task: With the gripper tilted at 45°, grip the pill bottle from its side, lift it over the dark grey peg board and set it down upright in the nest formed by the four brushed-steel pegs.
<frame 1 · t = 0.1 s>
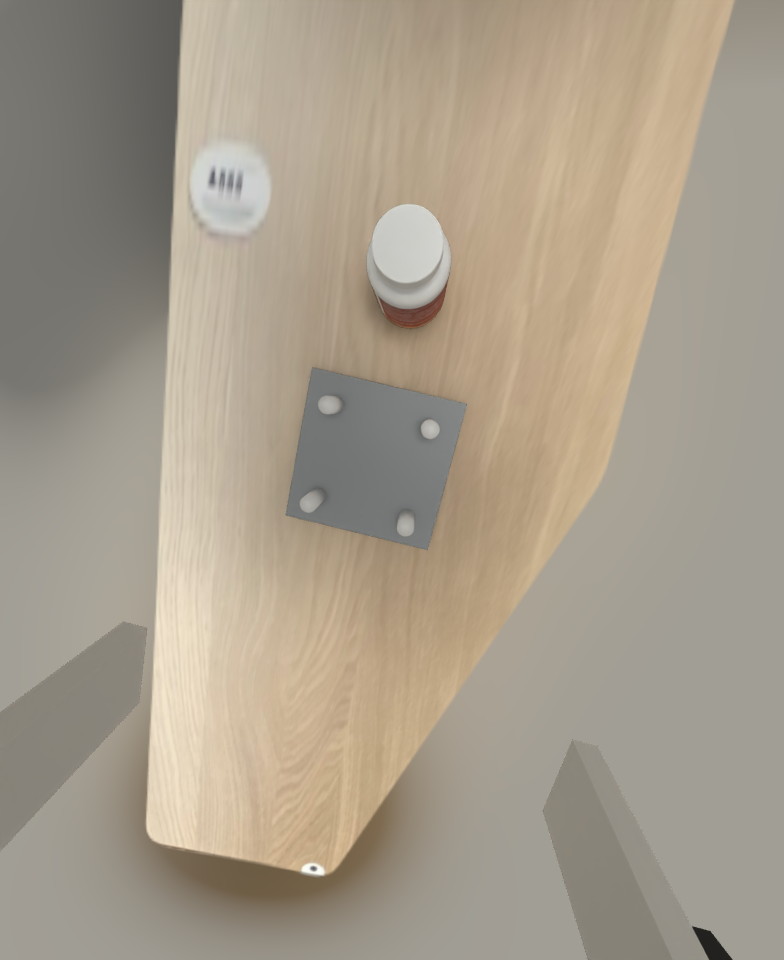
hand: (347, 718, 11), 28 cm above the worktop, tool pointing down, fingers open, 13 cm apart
pill bottle: (410, 294, 35), on the worktop
peg board: (373, 460, 38), on the worktop
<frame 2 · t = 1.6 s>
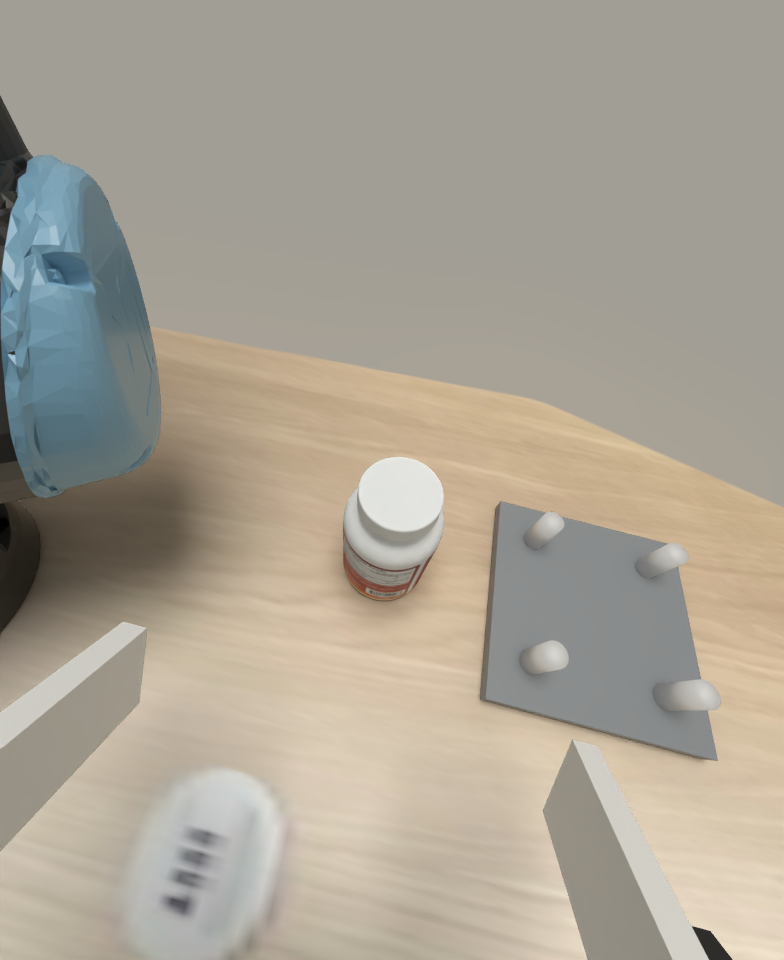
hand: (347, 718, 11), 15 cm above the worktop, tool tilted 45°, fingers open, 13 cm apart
pill bottle: (382, 563, 29), on the worktop
peg board: (583, 614, 29), on the worktop
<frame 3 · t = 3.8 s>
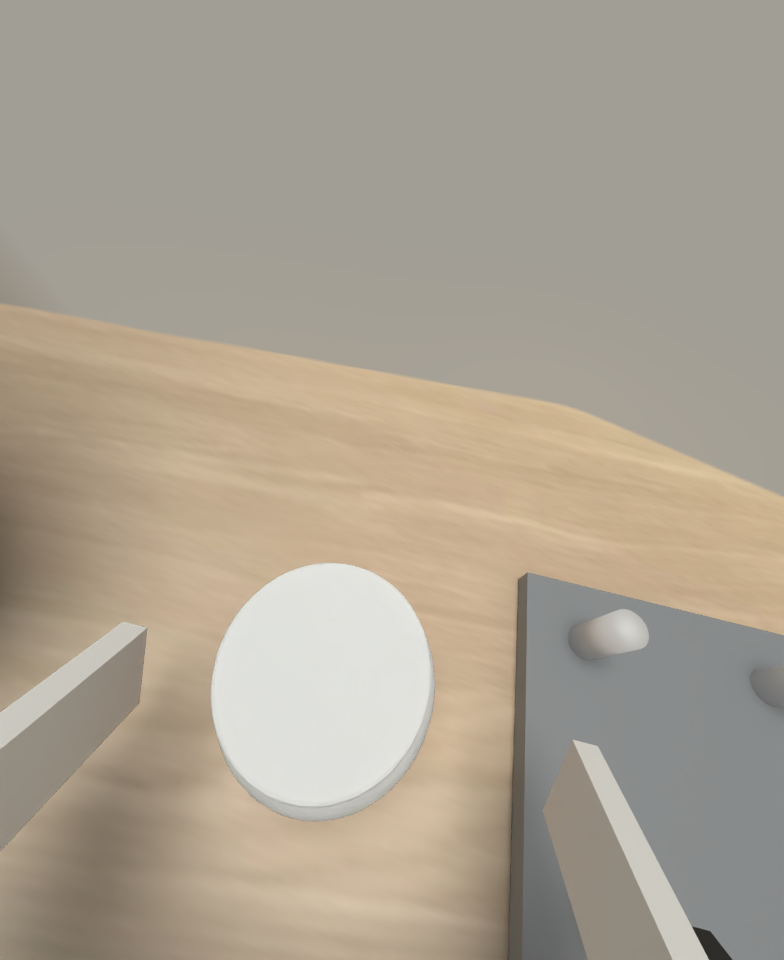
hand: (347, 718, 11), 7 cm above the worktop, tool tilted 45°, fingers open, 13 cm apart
pill bottle: (334, 691, 17), on the worktop
peg board: (675, 777, 17), on the worktop
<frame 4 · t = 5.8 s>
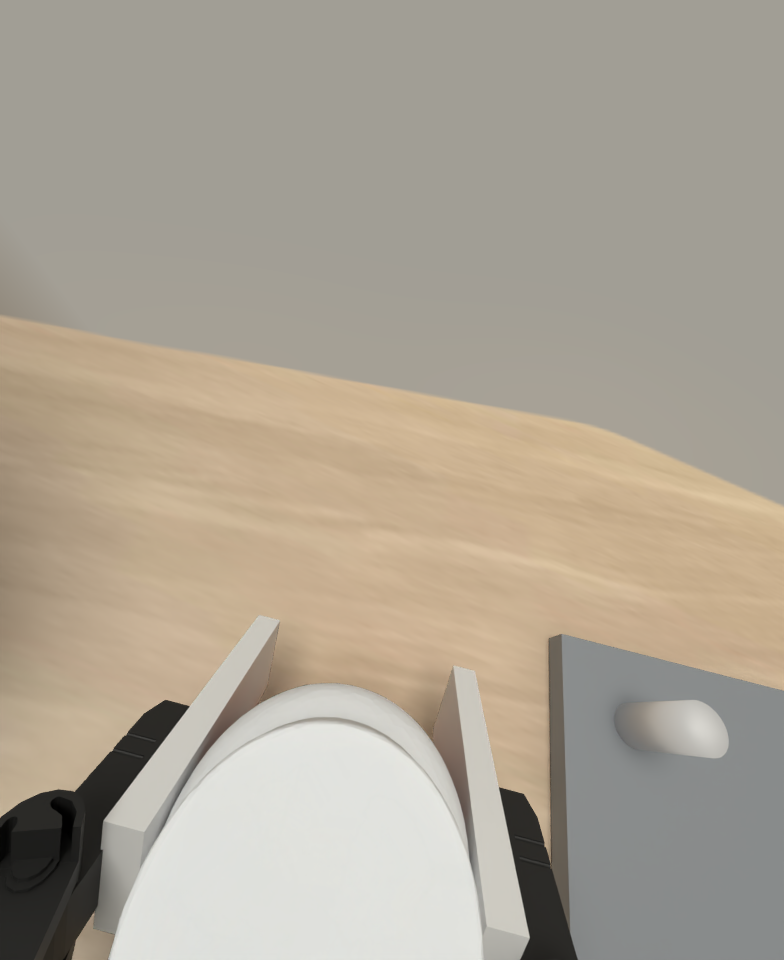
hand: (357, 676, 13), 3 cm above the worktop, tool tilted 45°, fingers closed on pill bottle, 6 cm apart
pill bottle: (328, 789, 14), on the worktop, touching gripper
peg board: (753, 905, 14), on the worktop
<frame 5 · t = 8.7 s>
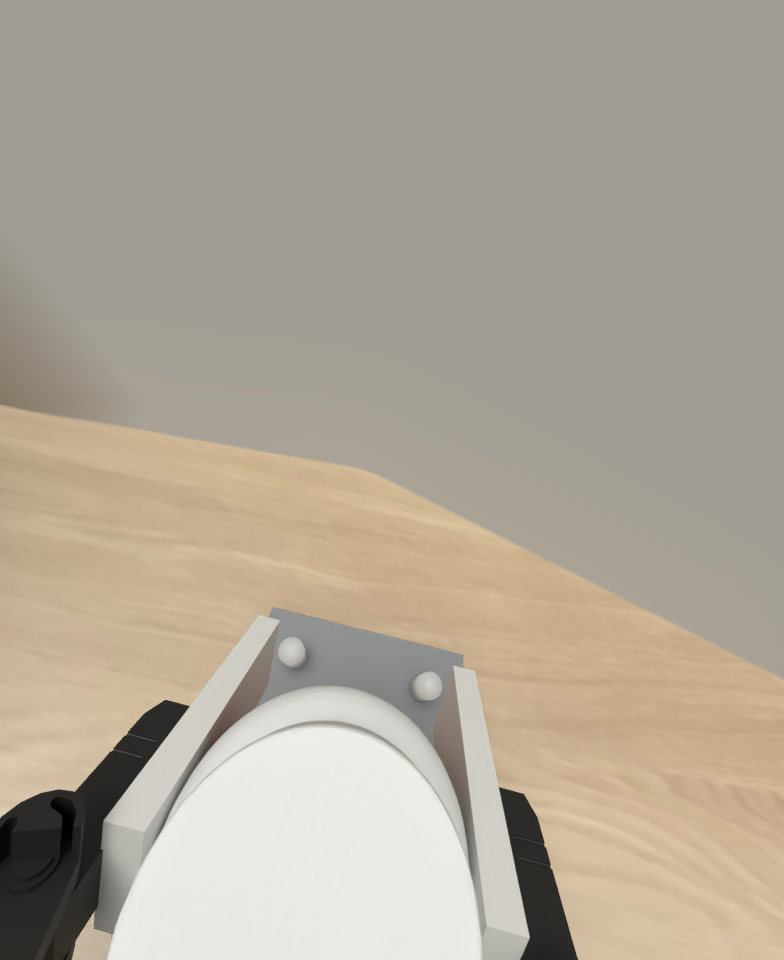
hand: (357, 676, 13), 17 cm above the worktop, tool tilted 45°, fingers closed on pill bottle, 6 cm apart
pill bottle: (328, 791, 14), point 13 cm above the worktop, touching gripper
peg board: (339, 748, 26), on the worktop
when the fingers open (6 cm above the worktop, at t = 11.6 s): pill bottle drops 1 cm, resting on peg board.
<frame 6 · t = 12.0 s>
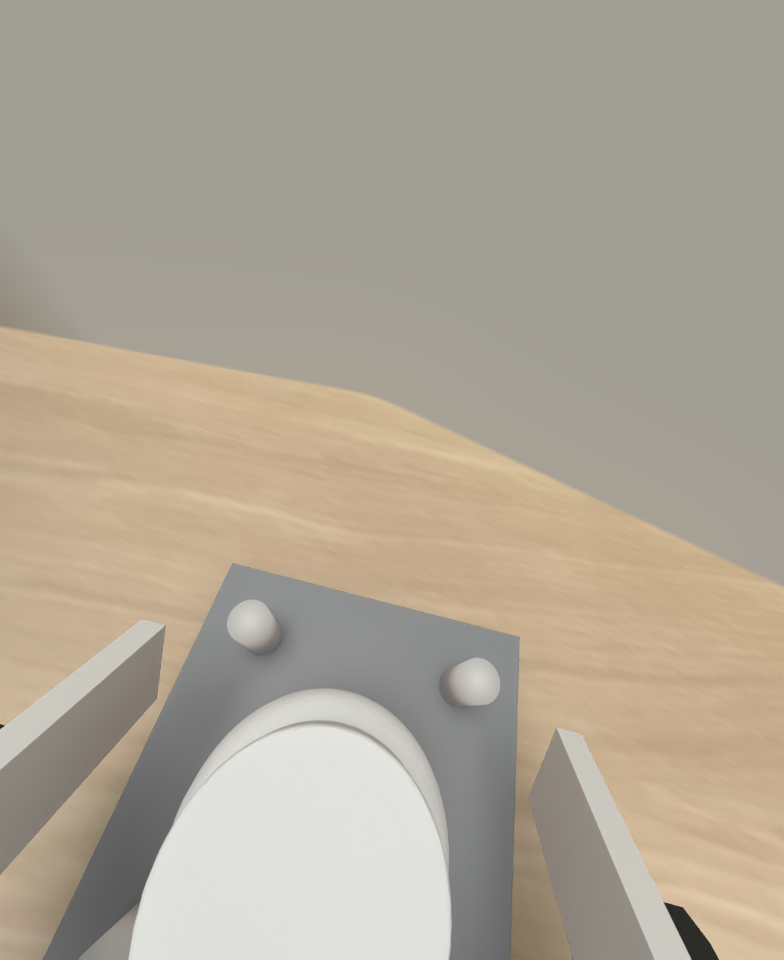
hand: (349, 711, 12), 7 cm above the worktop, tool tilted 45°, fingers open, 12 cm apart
pill bottle: (325, 786, 15), point 1 cm above the worktop, touching peg board
peg board: (330, 781, 16), on the worktop
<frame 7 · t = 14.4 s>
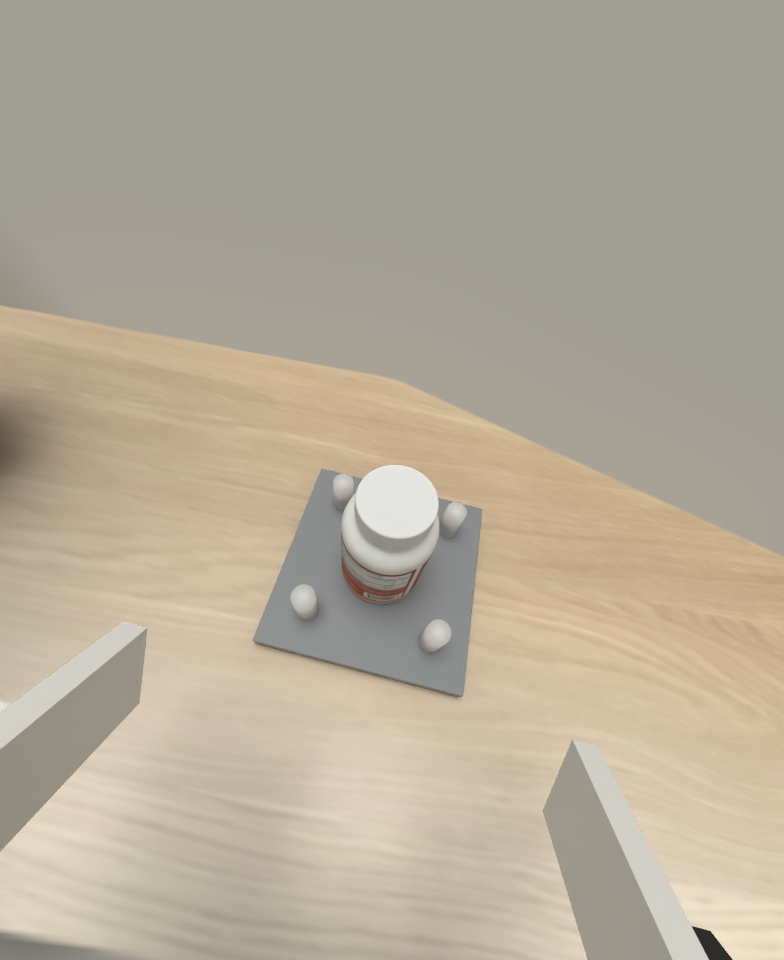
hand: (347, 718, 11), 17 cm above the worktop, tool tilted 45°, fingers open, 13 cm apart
pill bottle: (380, 567, 30), point 1 cm above the worktop, touching peg board
peg board: (381, 571, 31), on the worktop
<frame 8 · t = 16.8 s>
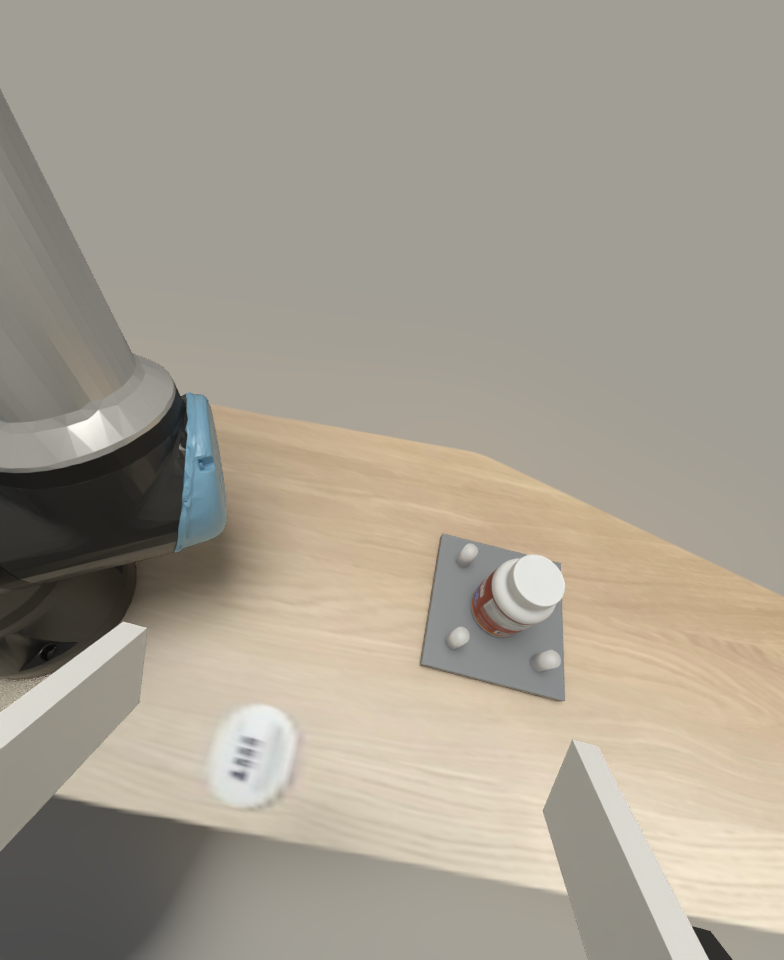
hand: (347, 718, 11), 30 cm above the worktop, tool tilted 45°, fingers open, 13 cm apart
pill bottle: (495, 609, 42), point 1 cm above the worktop, touching peg board
peg board: (494, 611, 43), on the worktop
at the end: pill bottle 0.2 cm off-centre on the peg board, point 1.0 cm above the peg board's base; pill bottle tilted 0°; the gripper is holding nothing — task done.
